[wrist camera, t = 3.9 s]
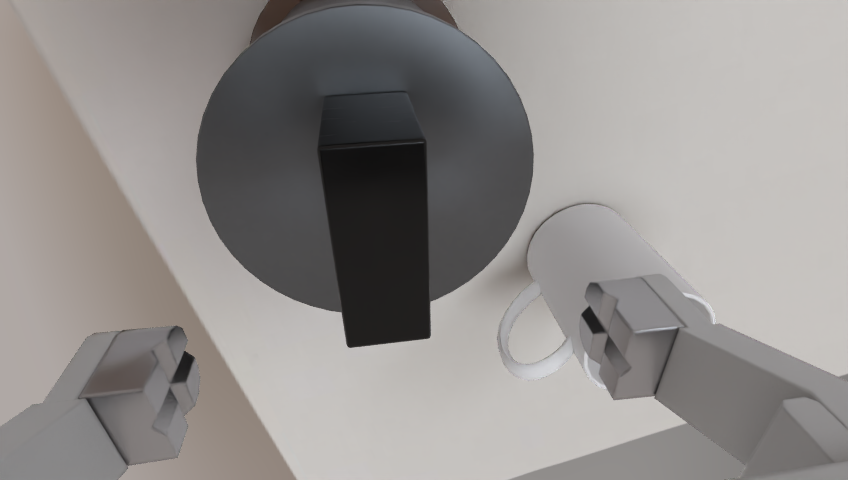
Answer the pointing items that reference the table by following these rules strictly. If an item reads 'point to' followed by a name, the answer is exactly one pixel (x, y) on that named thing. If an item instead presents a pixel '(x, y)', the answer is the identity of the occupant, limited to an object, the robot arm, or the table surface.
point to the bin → (365, 162)
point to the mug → (582, 279)
